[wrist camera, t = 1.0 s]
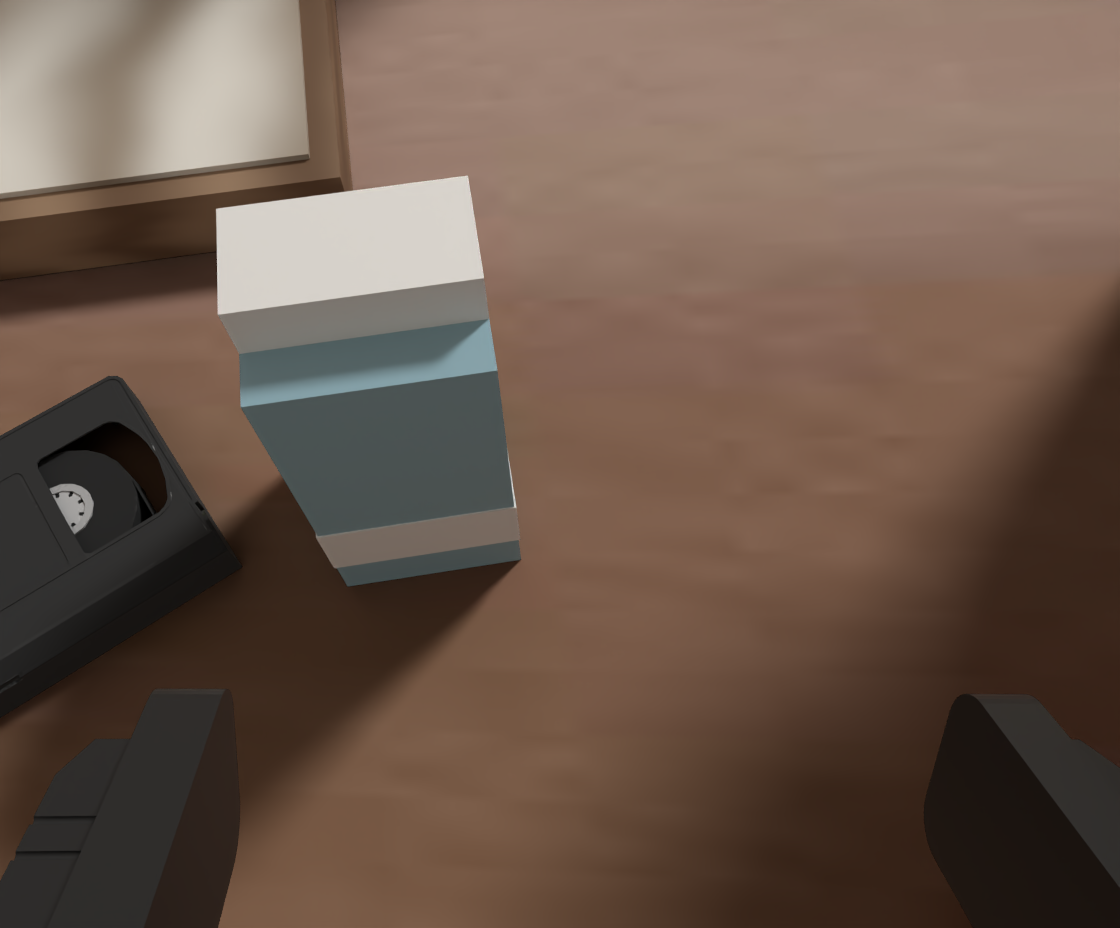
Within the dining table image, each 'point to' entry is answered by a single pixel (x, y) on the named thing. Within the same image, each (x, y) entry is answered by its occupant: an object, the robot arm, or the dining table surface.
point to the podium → (159, 123)
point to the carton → (374, 373)
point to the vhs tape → (90, 542)
